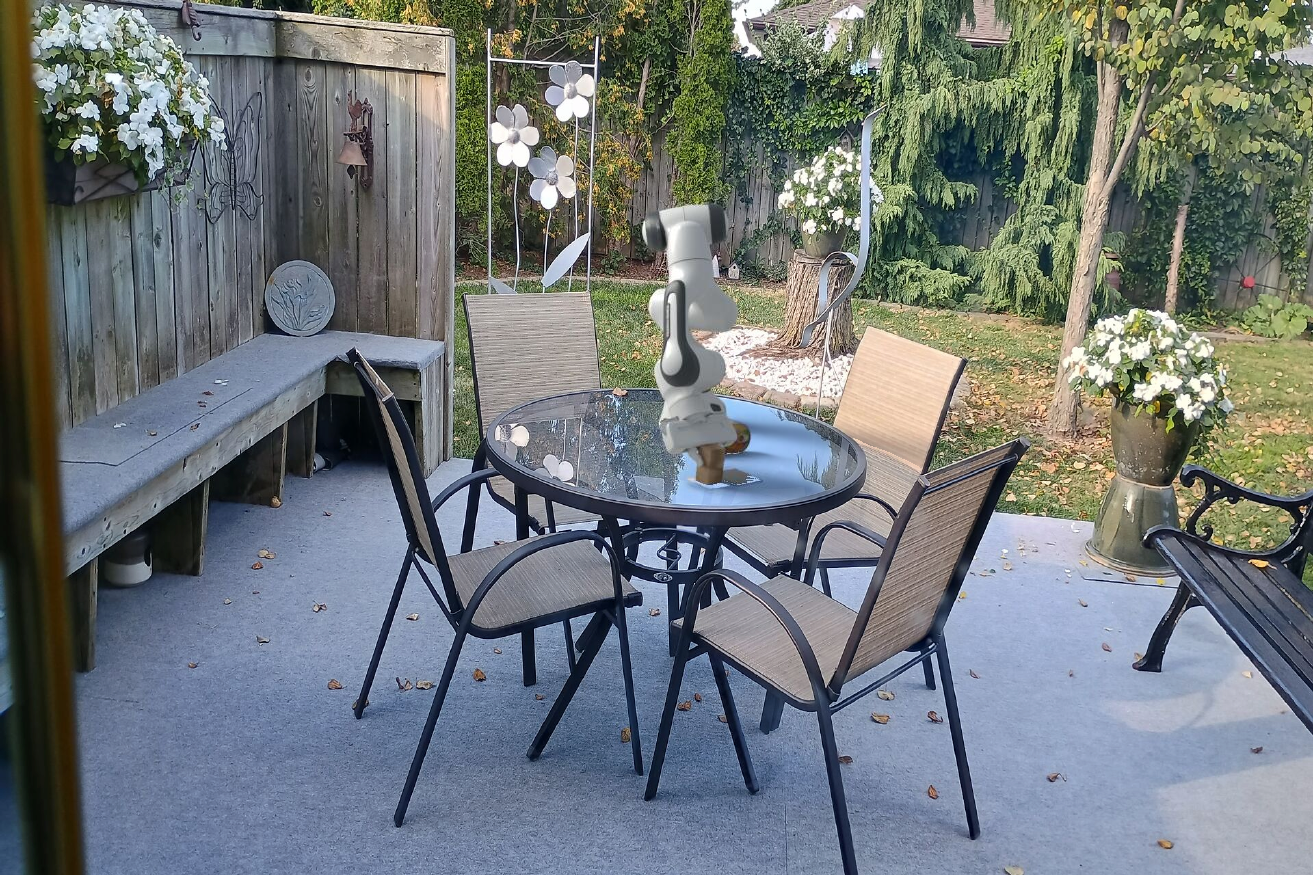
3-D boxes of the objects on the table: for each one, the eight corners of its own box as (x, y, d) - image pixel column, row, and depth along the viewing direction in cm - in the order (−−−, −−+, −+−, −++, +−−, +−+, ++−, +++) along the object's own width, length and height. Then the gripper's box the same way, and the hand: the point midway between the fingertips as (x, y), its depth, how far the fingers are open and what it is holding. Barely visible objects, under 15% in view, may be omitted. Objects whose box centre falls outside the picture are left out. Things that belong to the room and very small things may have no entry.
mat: (735, 470, 281) (735, 468, 281) (761, 481, 273) (762, 479, 273) (709, 474, 276) (709, 472, 275) (735, 486, 268) (735, 484, 268)
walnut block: (709, 478, 272) (713, 443, 270) (722, 483, 269) (725, 448, 266) (695, 480, 270) (698, 445, 267) (707, 486, 266) (710, 450, 264)
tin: (701, 457, 290) (704, 426, 288) (695, 453, 293) (698, 423, 290) (749, 453, 297) (753, 423, 295) (743, 450, 300) (746, 420, 297)
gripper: (662, 412, 264) (685, 463, 259) (727, 404, 276) (750, 452, 271) (650, 425, 268) (672, 475, 264) (714, 417, 280) (736, 465, 276)
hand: (712, 464), depth 267 cm, fingers closed on walnut block, 5 cm apart
